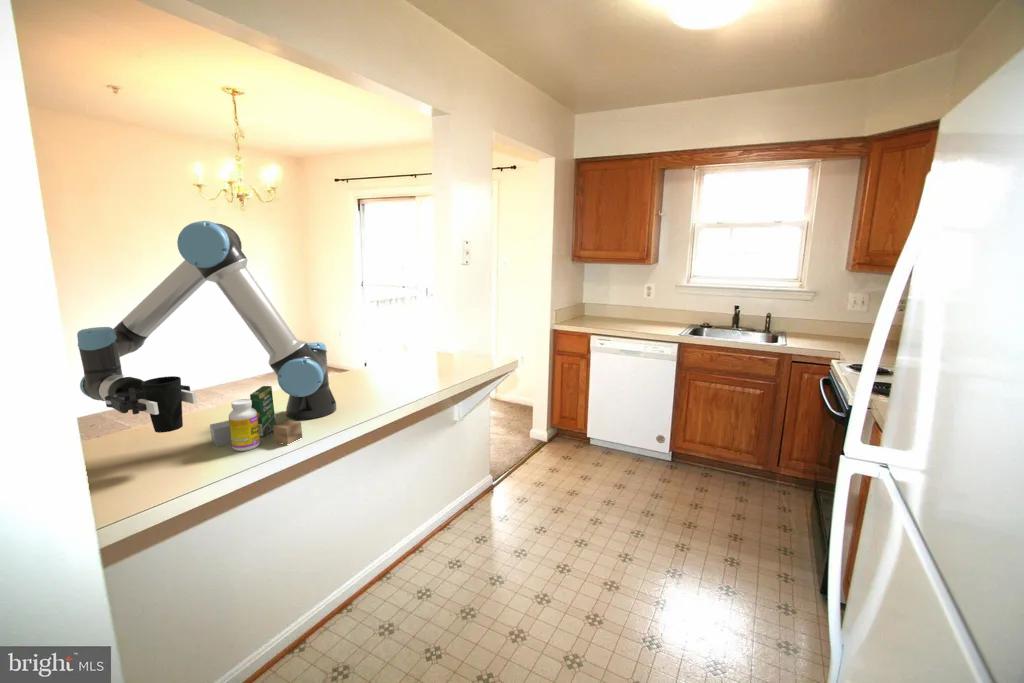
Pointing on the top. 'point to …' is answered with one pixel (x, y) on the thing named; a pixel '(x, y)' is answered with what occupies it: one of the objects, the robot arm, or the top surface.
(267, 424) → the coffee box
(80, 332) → the robot arm
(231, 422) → the supplement bottle
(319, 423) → the top surface
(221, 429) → the grey block
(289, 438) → the walnut block
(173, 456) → the top surface
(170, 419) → the cup
